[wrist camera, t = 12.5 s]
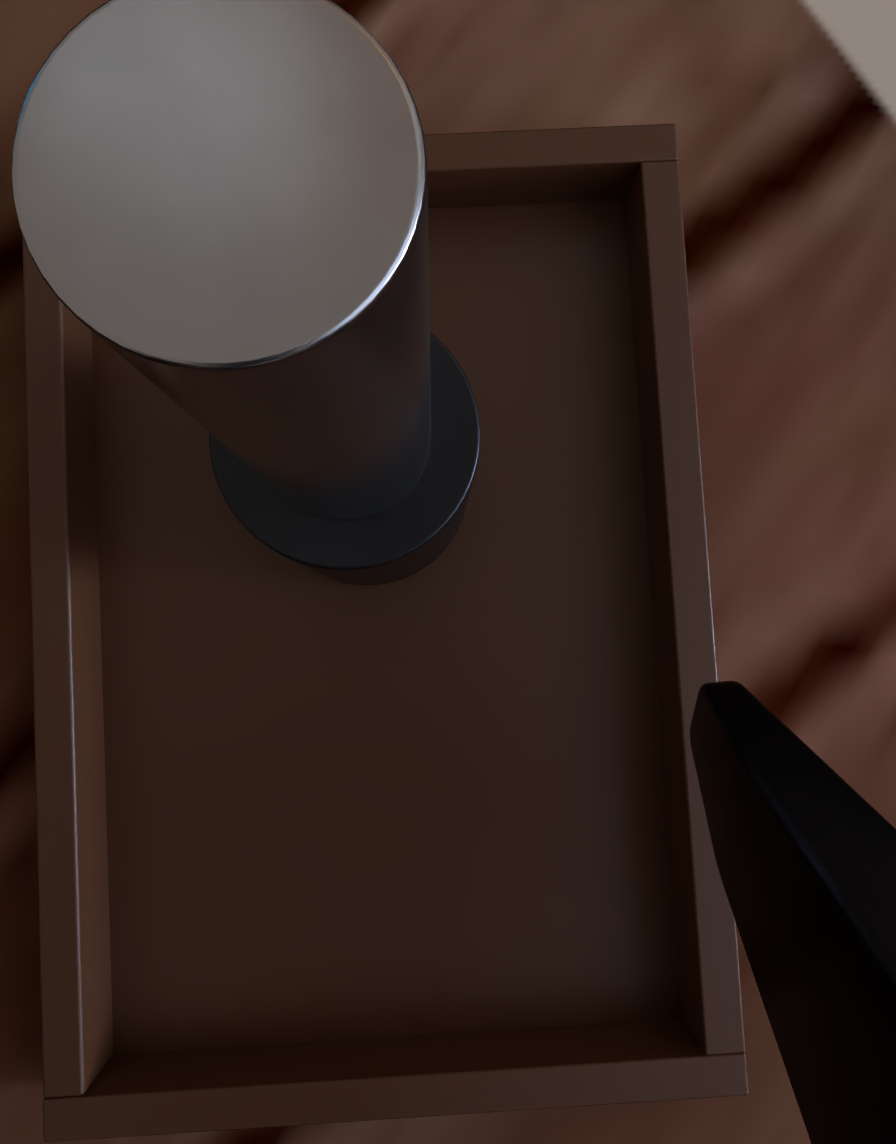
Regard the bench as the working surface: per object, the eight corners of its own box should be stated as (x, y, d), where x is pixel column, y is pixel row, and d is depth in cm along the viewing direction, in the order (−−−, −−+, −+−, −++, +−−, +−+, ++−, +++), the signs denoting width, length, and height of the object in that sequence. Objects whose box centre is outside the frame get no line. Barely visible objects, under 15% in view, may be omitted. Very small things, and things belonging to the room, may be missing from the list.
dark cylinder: (473, 579, 19) (566, 471, 6) (272, 590, 18) (-111, 505, 5) (462, 382, 19) (526, -158, 6) (264, 392, 19) (-120, -135, 6)
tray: (715, 1045, 18) (749, 1096, 16) (85, 1086, 18) (42, 1143, 16) (651, 173, 20) (676, 122, 18) (60, 200, 19) (18, 151, 17)
